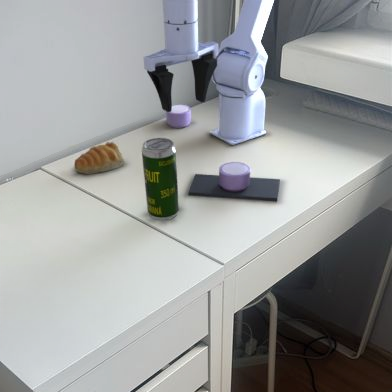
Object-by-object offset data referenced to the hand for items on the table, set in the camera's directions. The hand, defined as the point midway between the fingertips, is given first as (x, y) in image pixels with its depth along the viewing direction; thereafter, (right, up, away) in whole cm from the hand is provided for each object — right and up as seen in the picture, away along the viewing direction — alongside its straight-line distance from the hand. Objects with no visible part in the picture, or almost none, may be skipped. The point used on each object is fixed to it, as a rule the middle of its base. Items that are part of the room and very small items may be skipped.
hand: (183, 105), depth 94 cm
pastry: (-17, -9, +6) cm, 20 cm away
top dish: (+9, -16, -2) cm, 18 cm away
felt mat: (+9, -16, -2) cm, 19 cm away
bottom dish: (-2, +6, +20) cm, 21 cm away
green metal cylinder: (-3, -22, -7) cm, 24 cm away
